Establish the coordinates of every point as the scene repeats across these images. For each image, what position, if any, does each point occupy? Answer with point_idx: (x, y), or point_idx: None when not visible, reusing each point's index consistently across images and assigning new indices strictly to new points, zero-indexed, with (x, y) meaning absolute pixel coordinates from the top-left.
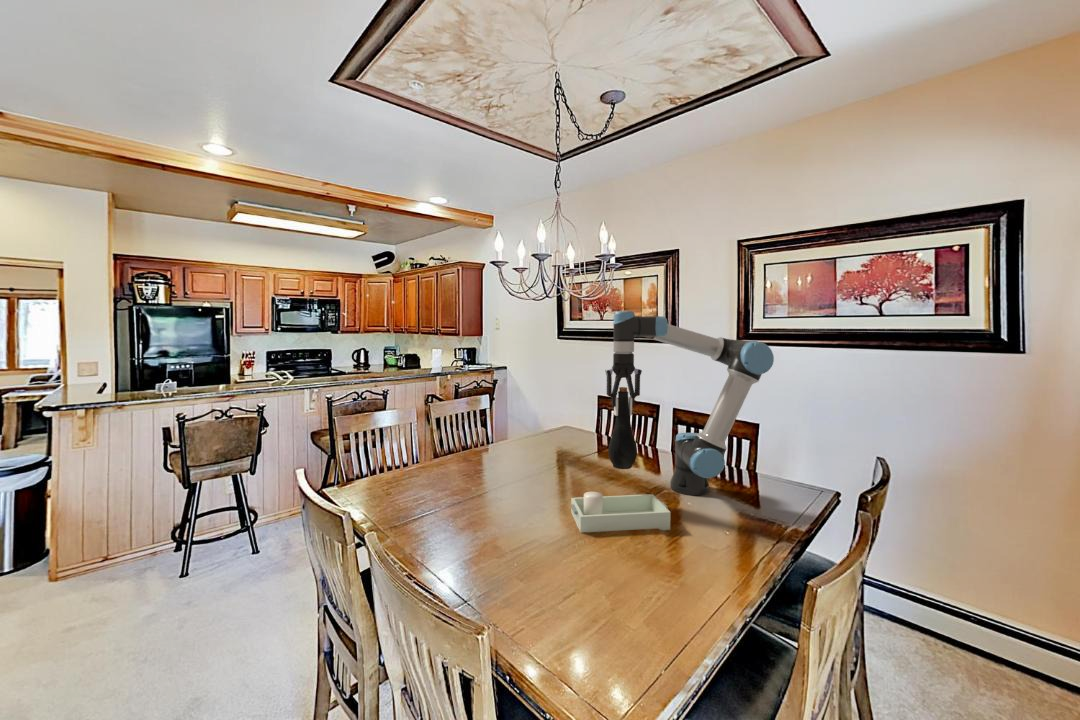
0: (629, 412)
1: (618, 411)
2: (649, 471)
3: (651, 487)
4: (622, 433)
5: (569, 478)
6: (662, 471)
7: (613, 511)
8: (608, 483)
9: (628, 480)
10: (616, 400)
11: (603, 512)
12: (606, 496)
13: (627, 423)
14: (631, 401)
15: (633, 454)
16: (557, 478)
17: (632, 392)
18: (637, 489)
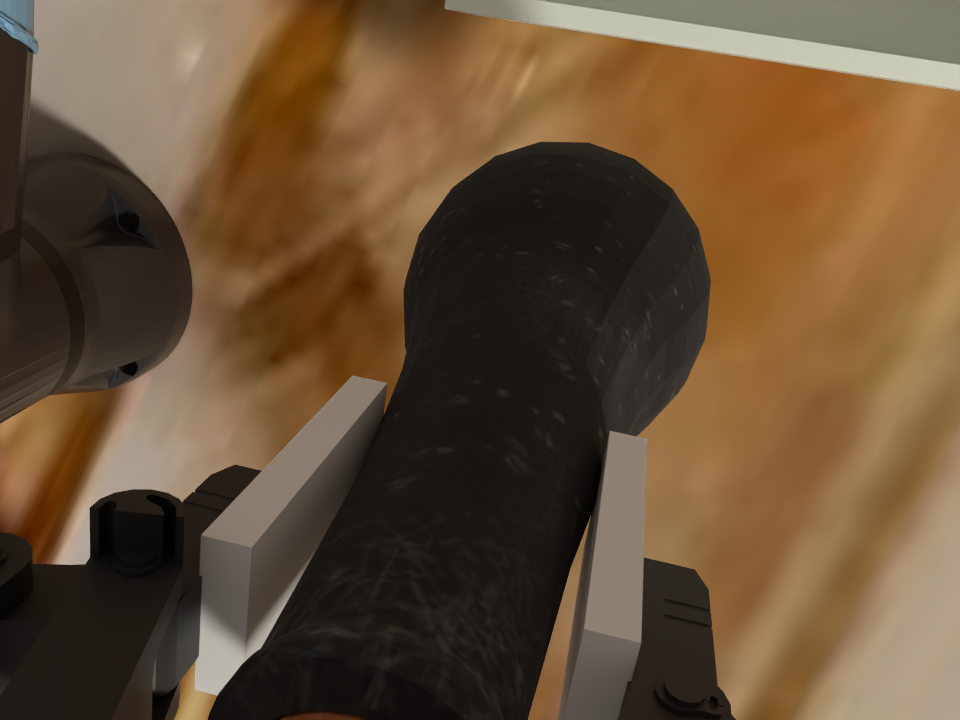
0: (370, 433)
1: (583, 482)
2: None
3: (298, 365)
4: (590, 260)
5: (737, 674)
6: None
7: (756, 31)
8: None
9: None
10: (633, 608)
11: (834, 35)
12: (814, 62)
13: (484, 304)
14: (258, 496)
15: (501, 156)
16: (816, 702)
17: (106, 632)
18: (398, 364)
